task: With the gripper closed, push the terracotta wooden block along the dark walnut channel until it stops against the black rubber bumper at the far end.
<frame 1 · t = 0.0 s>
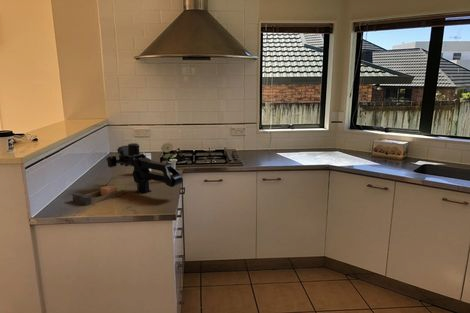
hand: (112, 157, 212), 17 cm above the table, tool horizontal, fingers open, 9 cm apart
flower in vase: (172, 181, 225), on the table
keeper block: (109, 195, 195), resting in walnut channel
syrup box: (145, 174, 240), on the table
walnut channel: (99, 197, 190), on the table
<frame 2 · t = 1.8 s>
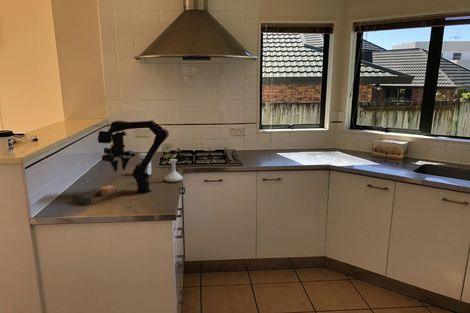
hand: (119, 170, 199), 12 cm above the table, tool pointing down, fingers open, 5 cm apart
nothing on the table moved.
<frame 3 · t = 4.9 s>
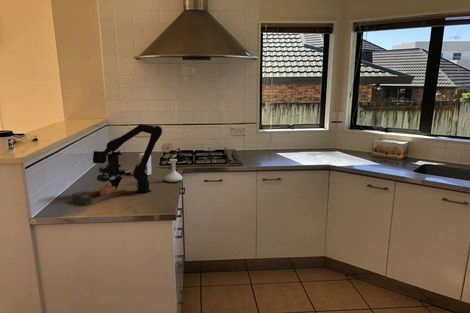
hand: (115, 190, 199), 2 cm above the table, tool pointing down, fingers closed
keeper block: (108, 195, 195), resting in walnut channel, touching gripper
everything else where it was.
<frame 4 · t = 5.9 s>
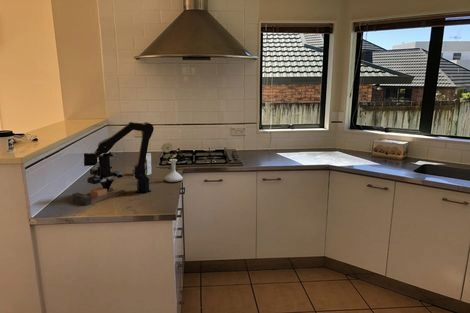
hand: (106, 192, 194), 2 cm above the table, tool pointing down, fingers closed
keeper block: (99, 197, 190), resting in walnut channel, touching gripper
everything else where it was.
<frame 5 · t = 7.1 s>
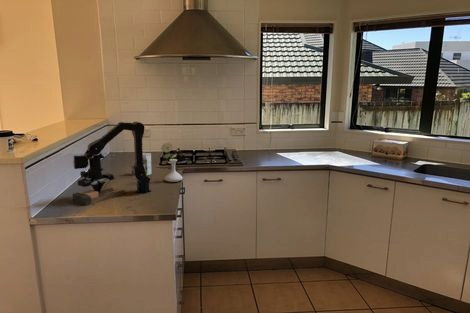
hand: (97, 195, 189), 2 cm above the table, tool pointing down, fingers closed
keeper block: (90, 200, 185), resting in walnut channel, touching gripper
everything else where it was.
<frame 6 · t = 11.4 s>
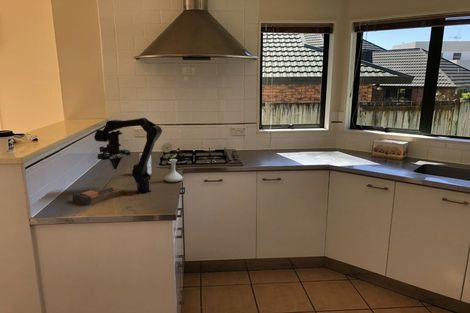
hand: (115, 169, 203), 12 cm above the table, tool pointing down, fingers closed
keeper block: (90, 200, 185), resting in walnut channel
everything else where it was.
at the end: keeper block 0.4 cm from the target spot, resting in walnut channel; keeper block moved 12.0 cm from its start; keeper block tilted 0° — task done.
